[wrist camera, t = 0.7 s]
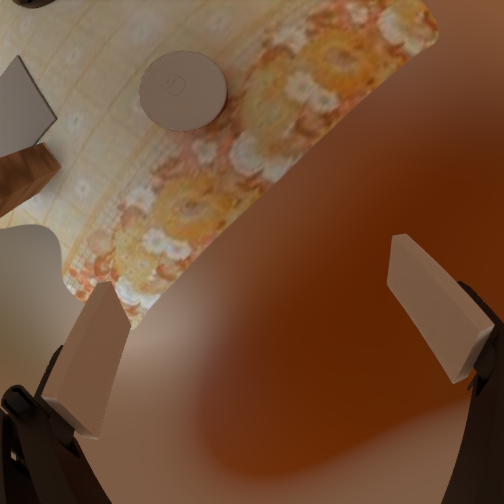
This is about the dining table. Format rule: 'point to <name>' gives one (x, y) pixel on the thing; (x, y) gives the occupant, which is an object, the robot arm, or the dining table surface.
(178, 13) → the dining table surface
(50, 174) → the walnut block
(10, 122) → the mat
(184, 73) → the canned food
